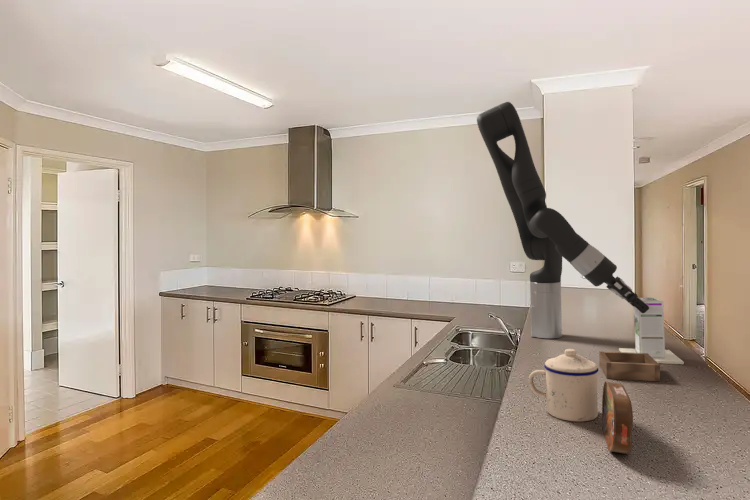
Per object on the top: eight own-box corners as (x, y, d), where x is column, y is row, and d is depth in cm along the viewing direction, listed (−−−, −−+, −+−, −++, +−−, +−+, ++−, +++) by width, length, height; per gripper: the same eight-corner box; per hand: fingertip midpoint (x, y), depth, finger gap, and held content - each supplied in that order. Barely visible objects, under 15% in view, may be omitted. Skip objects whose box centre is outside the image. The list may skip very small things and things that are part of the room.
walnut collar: (606, 378, 105) (606, 362, 105) (599, 365, 115) (599, 351, 115) (660, 381, 101) (659, 365, 101) (647, 367, 111) (647, 353, 111)
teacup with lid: (600, 408, 87) (599, 346, 87) (597, 426, 79) (596, 358, 79) (533, 399, 93) (532, 341, 93) (524, 415, 85) (523, 351, 85)
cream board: (628, 361, 117) (628, 359, 117) (619, 350, 128) (619, 348, 128) (683, 364, 113) (683, 361, 113) (669, 352, 125) (669, 349, 125)
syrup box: (666, 358, 117) (665, 300, 116) (639, 357, 118) (638, 300, 118) (659, 352, 122) (658, 297, 122) (633, 351, 124) (632, 297, 124)
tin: (600, 422, 81) (599, 374, 81) (621, 424, 80) (620, 375, 80) (611, 462, 67) (610, 404, 67) (636, 465, 66) (635, 406, 66)
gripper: (608, 256, 117) (661, 302, 114) (598, 252, 130) (646, 293, 127) (585, 277, 118) (637, 323, 116) (578, 272, 132) (624, 312, 129)
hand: (642, 307), depth 121 cm, fingers open, 8 cm apart
